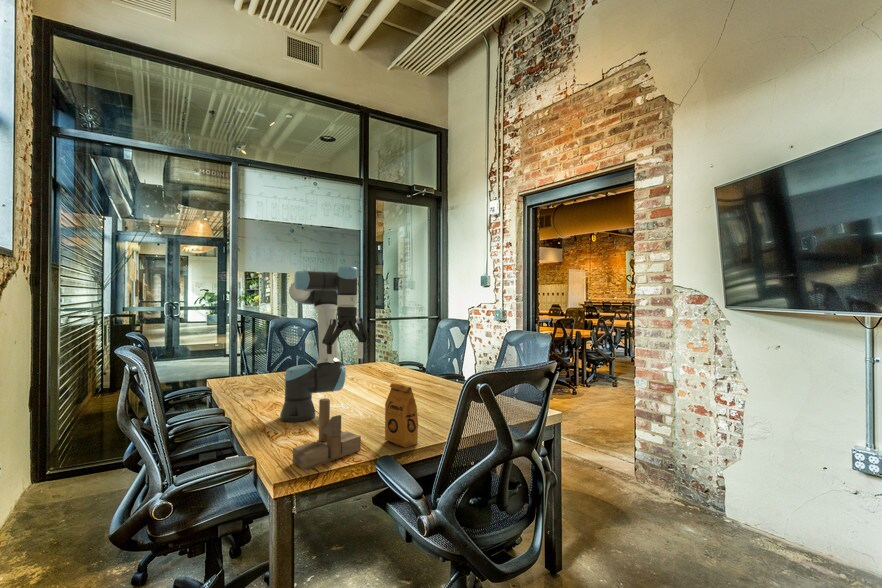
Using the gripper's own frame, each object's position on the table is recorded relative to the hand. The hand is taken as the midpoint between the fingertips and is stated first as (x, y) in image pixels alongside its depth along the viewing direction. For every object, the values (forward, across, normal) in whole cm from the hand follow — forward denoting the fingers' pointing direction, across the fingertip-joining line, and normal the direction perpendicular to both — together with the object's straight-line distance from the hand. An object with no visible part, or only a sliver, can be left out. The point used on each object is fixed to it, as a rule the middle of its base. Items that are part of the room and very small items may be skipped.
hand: (346, 360), depth 157 cm
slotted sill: (+30, -15, -11) cm, 35 cm away
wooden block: (+29, -15, -11) cm, 34 cm away
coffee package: (+30, +12, -20) cm, 38 cm away
